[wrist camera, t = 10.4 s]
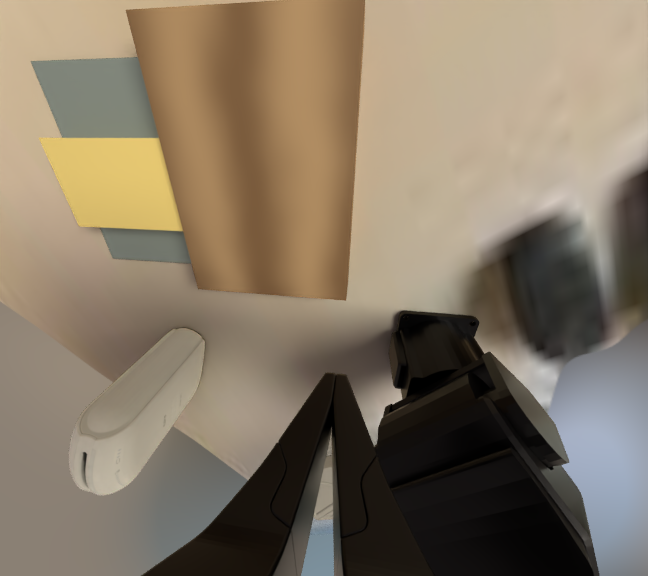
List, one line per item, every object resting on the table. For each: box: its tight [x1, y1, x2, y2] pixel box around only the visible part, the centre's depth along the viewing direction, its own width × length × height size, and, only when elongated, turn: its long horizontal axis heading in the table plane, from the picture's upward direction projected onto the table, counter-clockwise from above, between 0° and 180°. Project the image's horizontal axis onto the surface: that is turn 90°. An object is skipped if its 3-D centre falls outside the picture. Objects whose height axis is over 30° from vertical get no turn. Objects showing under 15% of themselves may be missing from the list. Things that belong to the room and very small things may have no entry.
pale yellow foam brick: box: [39, 138, 183, 231], centre depth 18 cm, size 9×6×2 cm, turn 89°
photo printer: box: [69, 328, 205, 495], centre depth 23 cm, size 10×4×12 cm, turn 159°
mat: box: [31, 57, 192, 264], centre depth 19 cm, size 10×14×1 cm
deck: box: [126, 0, 365, 300], centre depth 17 cm, size 12×16×3 cm
